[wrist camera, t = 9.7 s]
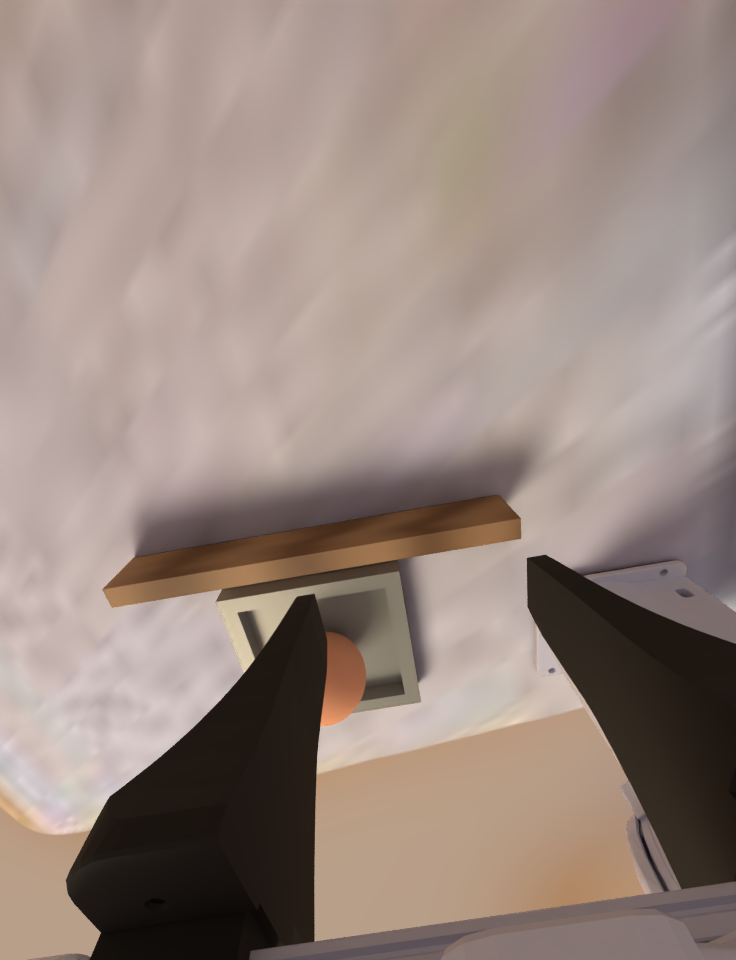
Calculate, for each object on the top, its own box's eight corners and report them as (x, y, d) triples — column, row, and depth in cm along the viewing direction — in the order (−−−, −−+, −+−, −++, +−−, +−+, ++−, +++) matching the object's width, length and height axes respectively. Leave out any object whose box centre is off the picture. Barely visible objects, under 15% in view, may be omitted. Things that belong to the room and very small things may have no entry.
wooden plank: (498, 494, 21) (520, 518, 19) (499, 512, 22) (521, 538, 19) (133, 557, 22) (102, 589, 19) (141, 574, 22) (112, 607, 20)
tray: (396, 557, 23) (399, 571, 21) (417, 684, 27) (421, 702, 25) (223, 587, 23) (215, 602, 22) (270, 708, 27) (265, 726, 26)
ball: (357, 608, 24) (358, 675, 19) (370, 665, 25) (374, 739, 21) (281, 621, 24) (263, 690, 19) (299, 677, 25) (287, 753, 21)
